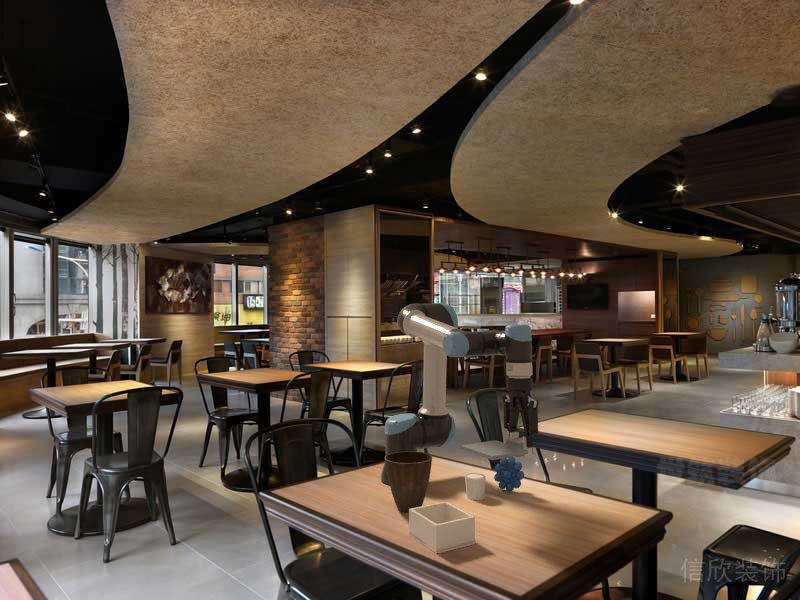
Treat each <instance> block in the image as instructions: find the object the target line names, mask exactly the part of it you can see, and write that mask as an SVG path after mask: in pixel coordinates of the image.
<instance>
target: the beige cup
mask: <svg viewBox="0 0 800 600" xmlns="http://www.w3.org/2000/svg"><path fill="white" fill-rule="evenodd" d="M464 481H465V490H466V498H467V499H469V500H471V501H480V500H483V499H485V488H486V475H485V474H482V473H475V472H474V473H467V474H465V475H464Z"/></svg>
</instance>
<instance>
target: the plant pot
mask: <svg viewBox="0 0 800 600" xmlns="http://www.w3.org/2000/svg"><path fill="white" fill-rule="evenodd" d="M432 462H433V456H432V455H431V454H430V453H426V452H421V451H417V452H412V451H406V452H396V453H391V454H388V455H386V454H385V456H384V463H385V464H386V470H387V476H388V480H389V484H390V485H389V487H390V491H391V494H392V497H393V500H394V503H395V506H396V508H397V510H398V511H399V512H403V513H409V509H411V508H416V507H421V506H423V504H424V501H425V498H426V495H427V491H428V486H429V483H430V478H431V477H430V476H431V472H432V471H431V470H432Z"/></svg>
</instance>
